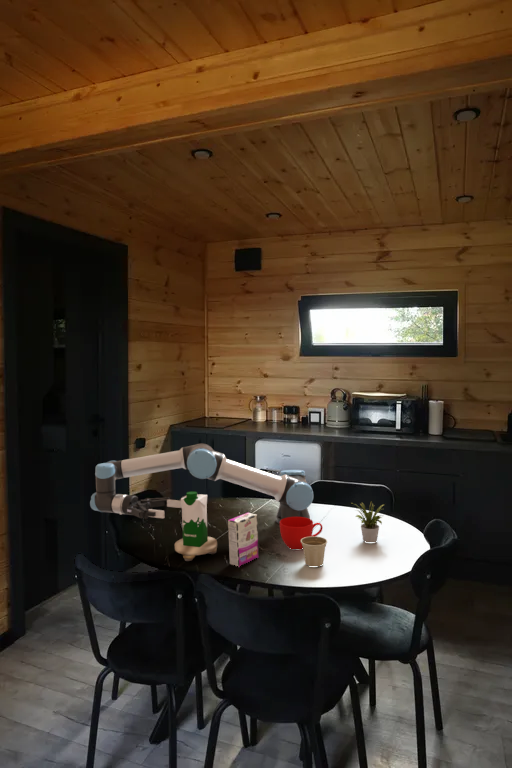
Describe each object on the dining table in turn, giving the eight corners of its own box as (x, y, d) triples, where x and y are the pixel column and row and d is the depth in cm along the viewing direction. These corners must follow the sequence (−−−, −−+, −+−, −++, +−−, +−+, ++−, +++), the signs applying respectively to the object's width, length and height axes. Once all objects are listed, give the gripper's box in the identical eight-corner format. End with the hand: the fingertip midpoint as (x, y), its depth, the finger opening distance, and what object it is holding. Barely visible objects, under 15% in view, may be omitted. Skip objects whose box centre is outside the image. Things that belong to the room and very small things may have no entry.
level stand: (224, 548, 204) (223, 538, 203) (205, 564, 189) (205, 553, 188) (187, 543, 209) (187, 533, 209) (167, 558, 194) (166, 548, 194)
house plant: (345, 545, 204) (344, 504, 203) (352, 533, 217) (351, 495, 216) (382, 550, 199) (382, 507, 198) (387, 537, 211) (387, 497, 210)
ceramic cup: (327, 551, 199) (327, 525, 198) (283, 554, 196) (283, 528, 195) (317, 539, 211) (317, 514, 211) (276, 542, 209) (276, 517, 208)
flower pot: (299, 560, 191) (298, 536, 190) (324, 558, 192) (324, 535, 191) (303, 570, 181) (303, 546, 181) (330, 569, 182) (329, 544, 182)
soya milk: (179, 546, 196) (178, 493, 195) (190, 537, 204) (189, 487, 203) (201, 548, 193) (199, 495, 192) (211, 540, 202) (209, 488, 200)
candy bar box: (248, 554, 197) (248, 511, 196) (259, 557, 193) (258, 514, 192) (228, 564, 188) (227, 519, 187) (238, 567, 185) (237, 522, 184)
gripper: (144, 505, 221) (188, 509, 213) (107, 523, 197) (156, 529, 190) (143, 487, 220) (188, 491, 213) (106, 503, 197) (155, 509, 189)
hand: (173, 509), depth 201 cm, fingers open, 13 cm apart
